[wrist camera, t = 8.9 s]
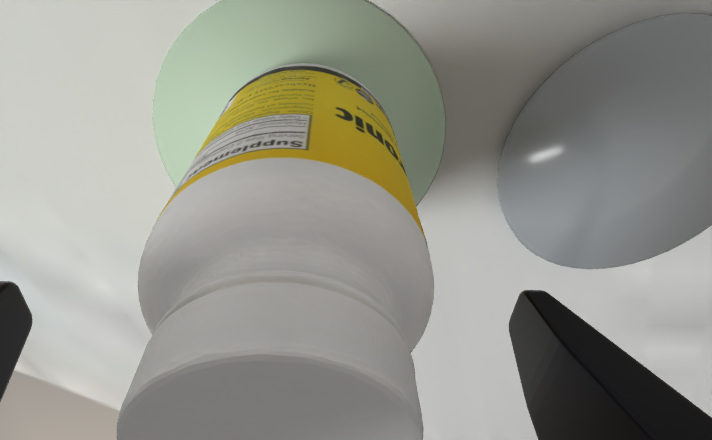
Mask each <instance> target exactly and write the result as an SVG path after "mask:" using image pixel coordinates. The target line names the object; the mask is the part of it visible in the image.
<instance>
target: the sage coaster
mask: <svg viewBox="0 0 712 440" xmlns="http://www.w3.org/2000/svg"><path fill="white" fill-rule="evenodd" d="M296 63H310V64H319V65H324V66H329V67H332V68H335V69H337V70H340V71H342V72H344V73H346V74H348V75H350V76H352V77H353V78H355V79H356V80H358V81H359V82H360V83H362V84H363V85H364V86H365V87H366V88H368V89H369V90H370V92H371V93H372V94H373V95H374V96H375V97H376V98H377V100H378V101H379V102H380V104H381V105H382V107H383V109H384V110H385V112H386V114H387V116H388V118H389V121H390V124H391V126H392V129H393V132H394V135H395V138H396V141H397V145H398V148H399V152H400V155H401V159H402V162H403V165H404V168H405V172H406V175H407V178H408V181H409V185H410V188H411V192H412V195H413V198H414V202H415V206H417V204H418V203H419V202H420V201H421V199H422V198H423V197H424V195H425V193H426V192H427V190H428V188H429V187H430V185H431V183H432V181H433V179H434V177H435V174H436V172H437V170H438V167H439V164H440V160H441V157H442V153H443V148H444V140H445V111H444V104H443V98H442V95H441V91H440V88H439V84H438V81H437V79H436V76H435V74H434V72H433V70H432V68H431V65H430V63H429V62H428V60H427V58H426V57H425V55H424V54H423V52H422V50H421V49H420V47H419V46H418V45H417V43H416V42H415V41H414V40H413V39H412V37H411V36H410V35H409V34H408V33H407V32H406V30H405V29H404V28H402V27H401V26H400V25H399V24H398V23H397V22H396V21H394V20H393V19H392V18H391V17H390V16H389V15H387V14H386V13H384V12H383V11H381V10H380V9H378V8H377V7H375V6H374V5H372V4H371V3H369V2H367V1H364V0H221V1H219V2H218V3H216V4H215V5H213V6H212V7H210V8H209V9H207V10H206V11H204V12H203V13H201V14H200V15H199V16H198V17H197V18H196V19H195V20H194V21H193V22H192V23H190V24H189V25H188V26H187V27H186V28H185V29H184V31H183V32H182V33H181V34H180V36H179V37H178V38H177V40H176V41H175V42H174V44H173V45H172V47H171V49H170V50H169V52H168V54H167V56H166V58H165V60H164V62H163V64H162V67H161V70H160V73H159V75H158V78H157V81H156V87H155V92H154V98H153V126H154V135H155V139H156V143H157V147H158V151H159V155H160V157H161V159H162V162H163V164H164V167H165V169H166V171H167V173H168V175H169V177H170V178H171V180H172V182H173V184H174V185H175V187H176V188H177V187H178V185H179V183H180V182H181V180H182V178H183V177H184V175H185V173H186V171H187V170H188V168H189V166H190V165H191V163H192V162H193V160H194V158H195V157H196V155H197V153H198V152H199V150H200V148H201V147H202V145H203V143H204V141H205V140H206V138H207V137H208V135H209V133H210V132H211V130H212V128H213V126H214V125H215V123H216V121H217V120H218V118H219V116H220V115H221V113H222V111H223V110H224V108H225V107H226V105H227V103H228V102H229V100H230V99H231V98H232V96H233V95H234V94H235V93H236V92H237V91H238V90H239V89H240V88H241V87H242V86H243V85H244V84H246V83H247V82H248V81H249V80H251V79H252V78H254V77H255V76H257V75H259V74H261V73H263V72H265V71H267V70H269V69H272V68H275V67H278V66H283V65H288V64H296Z"/></svg>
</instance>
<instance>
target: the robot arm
mask: <svg viewBox="0 0 712 440" xmlns="http://www.w3.org/2000/svg"><path fill="white" fill-rule="evenodd" d="M31 327H32V314H31V312H30V310H29V308H28V306H27V304H26V301H25V299H24V297H23V295H22V293H21V291H20V289H19V287H18V286H17V285H16V284H15V283H13V282H9V281H0V401H1V399H2V397H3V395H4V392H5V390H6V387H7V385H8V383H9V380H10V378H11V375H12V373H13V371H14V368H15V366H16V363H17V361H18V359H19V356H20V354H21V351H22V349H23V347H24V344H25V342H26V339H27V337H28V335H29V332H30V330H31ZM509 332H510V337H511V341H512V345H513V350H514V354H515V358H516V362H517V367H518V371H519V375H520V379H521V384H522V388H523V392H524V396H525V400H526V404H527V408H528V411H529V414H530V417H531V420H532V423H533V426H534V428H535V431H536V434H537V437H538V440H712V418H711V417H710V416H709V415H707V414H706V413H705V412H703V411H702V410H701V409H699V408H698V407H697V406H696V405H694V404H693V403H692V402H690V401H689V400H688V399H686V398H685V397H684V396H682V395H681V394H680V393H678V392H677V391H676V390H674V389H673V388H672V387H671V386H669V385H668V384H667V383H665V382H664V381H663V380H661V379H660V378H659V377H657V376H656V375H655V374H653V373H652V372H651V371H650V370H648V369H647V368H646V367H644V366H643V365H642V364H640V363H639V362H638V361H636V360H635V359H634V358H632V357H631V356H630V355H629V354H627V353H626V352H625V351H623V350H622V349H621V348H619V347H618V346H617V345H615V344H614V343H613V342H611V341H610V340H609V339H607V338H606V337H605V336H604V335H602V334H601V333H600V332H598V331H597V330H596V329H594V328H593V327H592V326H590V325H589V324H588V323H586V322H585V321H584V320H583V319H581V318H580V317H579V316H577V315H576V314H575V313H573V312H572V311H571V310H569V309H568V308H567V307H565V306H564V305H563V304H562V303H560V302H559V301H558V300H556V299H555V298H554V297H552V296H551V295H550V294H548V293H547V292H545V291H541V290H525V291H523V292H521V293H520V295H519V297H518V300H517V302H516V305H515V307H514V310H513V313H512V315H511V318H510V321H509Z"/></svg>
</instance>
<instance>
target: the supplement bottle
mask: <svg viewBox="0 0 712 440" xmlns="http://www.w3.org/2000/svg"><path fill="white" fill-rule="evenodd" d="M138 294H139V301H140V306H141V311H142V314H143V316H144V319H145V321H146V324H147V326H148V328H149V330H150V332H151V334H152V337H151V339H150V341H149V343H148V344H147V346H146V349H145V351H144V354H143V356H142V359H141V361H140V364H139V366H138V369H137V371H136V373H135V376H134V378H133V381H132V383H131V386H130V388H129V390H128V393H127V395H126V397H125V399H124V402H123V404H122V407H121V410H120V413H119V418H118V423H117V440H423V423H422V414H421V409H420V403H419V398H418V392H417V386H416V380H415V369H414V363H413V359H412V356H411V352H412V350H413V349H414V348H415V346H416V345H417V343H418V342H419V340H420V339H421V337H422V335H423V333H424V331H425V328H426V326H427V323H428V321H429V318H430V314H431V309H432V305H433V298H434V277H433V270H432V265H431V261H430V255H429V251H428V247H427V242H426V239H425V236H424V232H423V229H422V226H421V223H420V220H419V217H418V212H417V208H416V206H415V202H414V198H413V195H412V192H411V188H410V185H409V181H408V178H407V175H406V172H405V168H404V165H403V162H402V159H401V155H400V152H399V148H398V145H397V141H396V138H395V135H394V132H393V129H392V126H391V124H390V121H389V118H388V116H387V114H386V112H385V110H384V109H383V107H382V105H381V104H380V102H379V101H378V100H377V98H376V97H375V96H374V95H373V94H372V93H371V92H370V90H369V89H368V88H366V87H365V86H364V85H363V84H362V83H360V82H359V81H358V80H356V79H355V78H353V77H352V76H350V75H348V74H346V73H344V72H342V71H340V70H337V69H335V68H332V67H329V66H324V65H319V64H310V63H296V64H288V65H283V66H278V67H275V68H272V69H269V70H267V71H265V72H263V73H261V74H259V75H257V76H255V77H254V78H252V79H251V80H249V81H248V82H247V83H246V84H244V85H243V86H242V87H241V88H240V89H239V90H238V91H237V92H236V93H235V94H234V95H233V96H232V98H231V99H230V100H229V102H228V103H227V105H226V107H225V108H224V110H223V111H222V113H221V115H220V116H219V118H218V120H217V121H216V123H215V125H214V126H213V128H212V130H211V132H210V133H209V135H208V137H207V138H206V140H205V141H204V143H203V145H202V147H201V148H200V150H199V152H198V153H197V155H196V157H195V158H194V160H193V162H192V163H191V165H190V166H189V168H188V170H187V171H186V173H185V175H184V177H183V178H182V180H181V182H180V183H179V185H178V187H177V188H176V189H175V191H174V193H173V195H172V196H171V198H170V200H169V201H168V203H167V205H166V206H165V208H164V209H163V211H162V212H161V214H160V216H159V217H158V219H157V221H156V223H155V225H154V227H153V229H152V232H151V234H150V236H149V238H148V240H147V242H146V245H145V248H144V251H143V254H142V257H141V261H140V267H139V273H138Z"/></svg>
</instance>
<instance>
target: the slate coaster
mask: <svg viewBox="0 0 712 440" xmlns="http://www.w3.org/2000/svg"><path fill="white" fill-rule="evenodd" d="M497 185H498V196H499V201H500V205H501V209H502V212H503V214H504V216H505V219H506V221H507V223H508V225H509V226H510V228H511V230H512V231H513V233H514V234H515V235H516V237H517V238H518V240H519V241H520V242H521V243H522V244H523V245H524V246H525V247H526V248H527V249H529V250H530V251H531V252H533V253H534V254H536V255H537V256H539V257H541V258H543V259H545V260H547V261H549V262H552V263H555V264H558V265H561V266H567V267H572V268H581V269H604V268H612V267H619V266H624V265H628V264H633V263H636V262H640V261H643V260H646V259H649V258H652V257H655V256H657V255H659V254H662V253H664V252H667V251H669V250H671V249H673V248H675V247H677V246H679V245H681V244H683V243H685V242H686V241H688V240H690V239H691V238H693V237H695V236H696V235H698V234H700V233H701V232H702V231H704V230H705V229H707V228H708V227H710V226H711V225H712V16H711V15H705V14H673V15H666V16H659V17H654V18H651V19H647V20H643V21H640V22H636V23H633V24H631V25H628V26H626V27H624V28H621V29H619V30H616V31H614V32H612V33H610V34H608V35H606V36H604V37H602V38H601V39H599V40H597V41H595V42H593V43H592V44H590V45H589V46H587V47H586V48H584V49H583V50H581V51H580V52H578V53H577V54H575V55H574V56H573V57H571V58H570V59H569V60H568V61H566V62H565V63H564V64H563V65H562V66H560V67H559V68H558V69H557V70H556V71H555V72H554V73H553V74H552V75H551V76H550V77H549V78H548V79H547V80H546V81H545V82H544V83H543V84H542V85H541V86H540V87H539V88H538V90H537V91H536V92H535V93H534V95H533V96H532V97H531V98H530V100H529V101H528V102H527V103H526V105H525V106H524V108H523V110H522V111H521V113H520V114H519V116H518V117H517V119H516V121H515V123H514V125H513V127H512V129H511V131H510V133H509V135H508V137H507V140H506V143H505V145H504V148H503V151H502V154H501V159H500V164H499V169H498V183H497Z"/></svg>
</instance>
